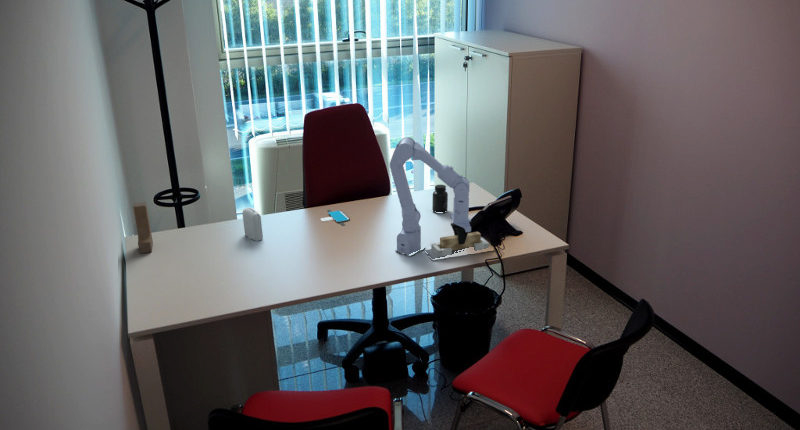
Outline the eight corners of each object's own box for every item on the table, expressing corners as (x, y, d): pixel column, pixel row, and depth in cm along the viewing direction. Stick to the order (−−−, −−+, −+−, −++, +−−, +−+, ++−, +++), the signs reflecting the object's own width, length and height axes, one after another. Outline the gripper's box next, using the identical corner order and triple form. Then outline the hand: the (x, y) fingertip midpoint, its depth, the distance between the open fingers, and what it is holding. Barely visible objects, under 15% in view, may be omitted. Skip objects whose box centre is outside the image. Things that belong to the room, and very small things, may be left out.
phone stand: (314, 213, 288) (314, 210, 287) (339, 209, 292) (339, 206, 292) (329, 229, 271) (328, 226, 270) (355, 224, 276) (355, 221, 275)
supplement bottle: (447, 214, 284) (448, 188, 280) (432, 214, 285) (432, 188, 280) (447, 208, 291) (447, 183, 286) (432, 208, 291) (432, 183, 287)
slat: (442, 251, 244) (442, 240, 242) (439, 249, 246) (440, 237, 244) (480, 245, 249) (480, 233, 247) (477, 243, 251) (478, 231, 249)
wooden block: (151, 252, 250) (144, 209, 243) (139, 254, 249) (131, 211, 242) (153, 243, 258) (146, 201, 251) (141, 244, 257) (134, 203, 250)
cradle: (432, 261, 241) (432, 252, 239) (424, 252, 248) (424, 244, 246) (494, 250, 248) (495, 242, 247) (485, 242, 255) (485, 234, 254)
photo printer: (243, 234, 266) (240, 206, 261) (252, 231, 268) (249, 204, 264) (255, 242, 258) (252, 213, 254) (264, 239, 261) (261, 211, 256)
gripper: (478, 214, 236) (477, 248, 241) (462, 201, 249) (461, 233, 254) (461, 217, 234) (460, 251, 239) (446, 204, 247) (445, 236, 252)
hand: (460, 242), depth 247 cm, fingers closed on slat, 2 cm apart
